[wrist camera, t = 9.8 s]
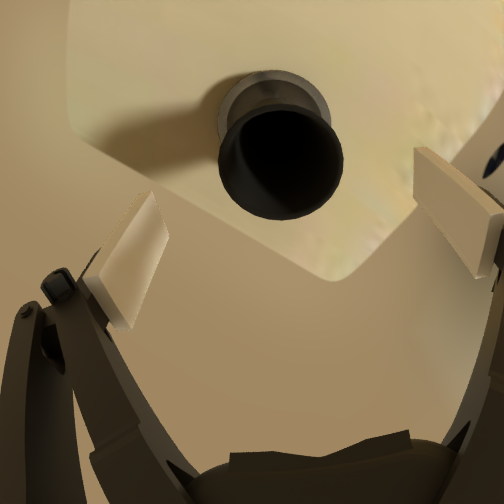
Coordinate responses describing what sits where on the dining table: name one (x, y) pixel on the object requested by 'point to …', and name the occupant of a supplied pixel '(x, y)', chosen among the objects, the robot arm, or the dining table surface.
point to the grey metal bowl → (269, 96)
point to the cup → (280, 160)
